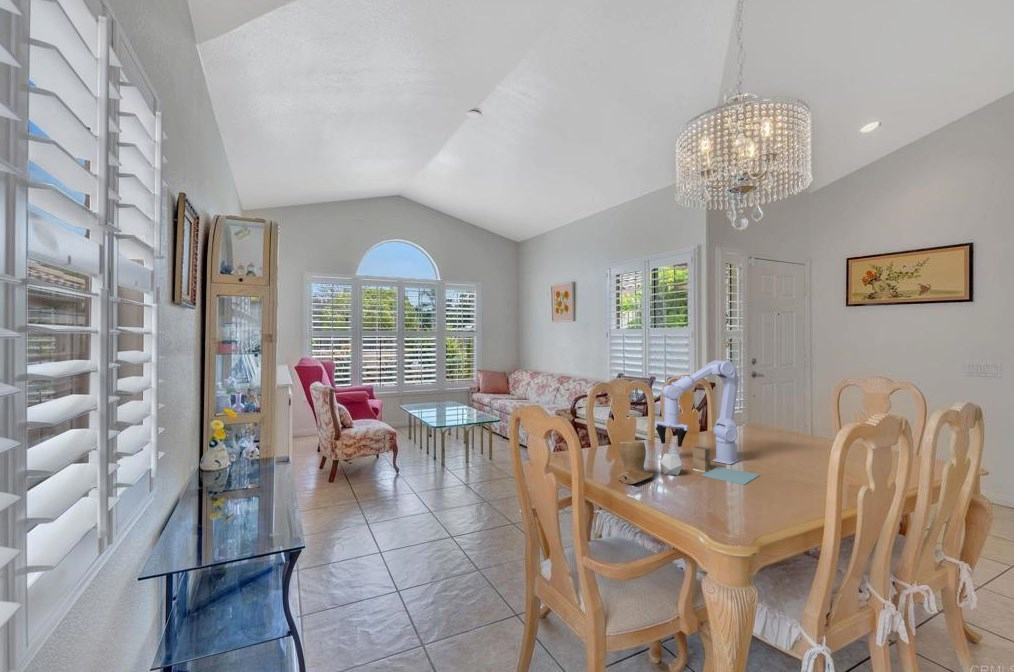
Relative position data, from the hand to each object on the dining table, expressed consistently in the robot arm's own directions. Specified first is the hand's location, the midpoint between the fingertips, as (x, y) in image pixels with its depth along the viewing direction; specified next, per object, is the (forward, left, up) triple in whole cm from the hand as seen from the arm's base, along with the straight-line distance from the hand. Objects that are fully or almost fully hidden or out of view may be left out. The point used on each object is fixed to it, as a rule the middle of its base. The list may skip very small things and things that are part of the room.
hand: (671, 444), depth 201 cm
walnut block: (0, +13, -8) cm, 15 cm away
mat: (0, +25, -8) cm, 26 cm away
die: (+14, +7, -8) cm, 18 cm away
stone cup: (+31, 0, -8) cm, 32 cm away
